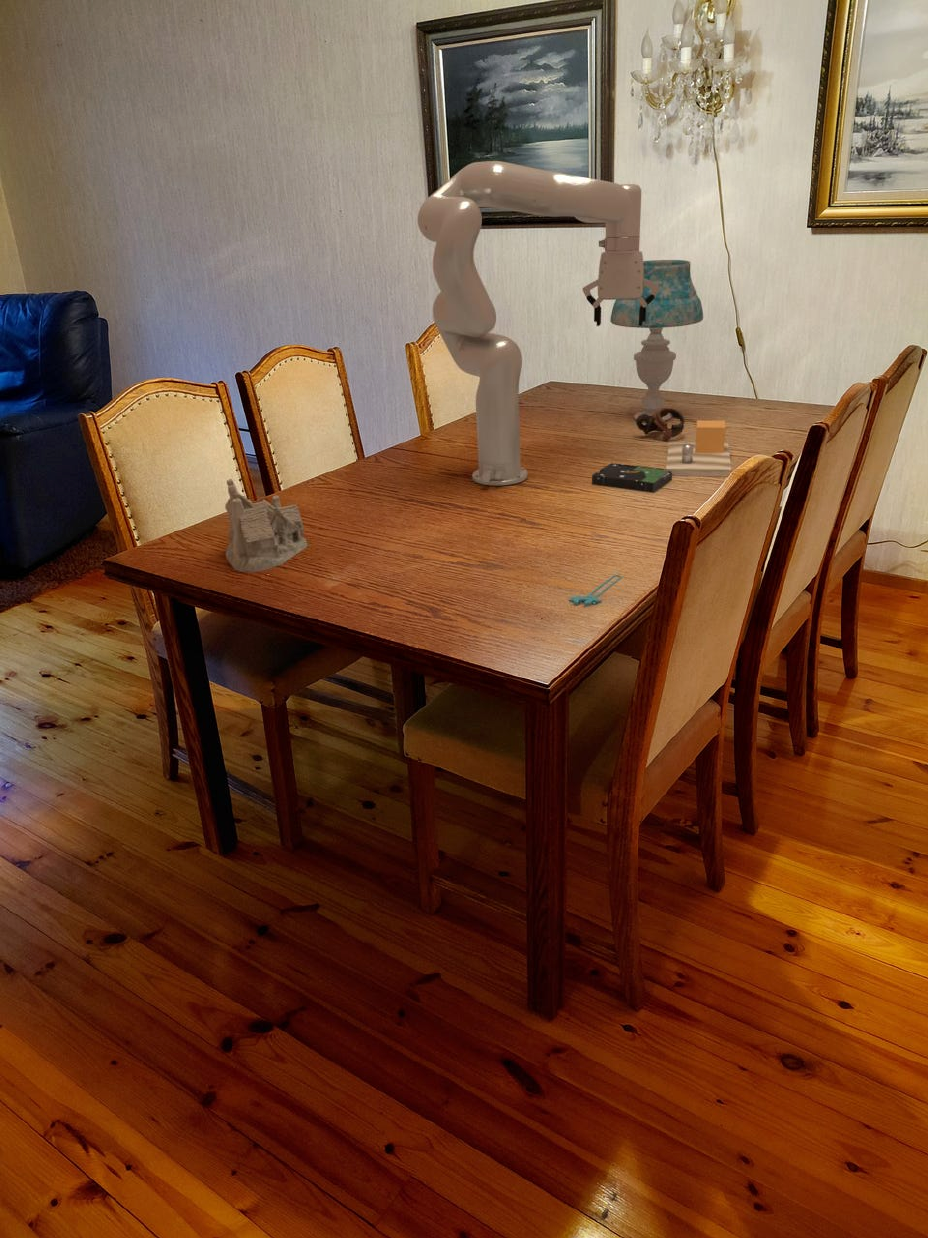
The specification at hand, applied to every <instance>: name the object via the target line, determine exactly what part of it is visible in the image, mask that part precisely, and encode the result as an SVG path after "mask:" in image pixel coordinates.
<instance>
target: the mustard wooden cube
mask: <svg viewBox="0 0 928 1238" xmlns="http://www.w3.org/2000/svg"><path fill="white" fill-rule="evenodd" d="M725 436H726V421H725V420H696V430H695V443H696V444H695V453H724V443H725V438H726V437H725Z"/></svg>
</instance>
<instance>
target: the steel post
mask: <svg viewBox="0 0 928 1238" xmlns="http://www.w3.org/2000/svg"><path fill="white" fill-rule="evenodd" d="M693 446H694V445H693V444H683V447H682V463H684V464H690V463H692V462H693Z"/></svg>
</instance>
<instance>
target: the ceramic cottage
mask: <svg viewBox="0 0 928 1238" xmlns="http://www.w3.org/2000/svg"><path fill="white" fill-rule="evenodd" d="M226 485H227V492H228V494H229V495H228V496H229V499H227V502H226V503H225V508H224V509H225V510H226V511H227V513H228V518H229V521H230V523H229V531H228V538H229V545H227V548H226V549H225V558H226V560H227V561H228V562H229V564H230V566H231V567H232V569H233V570H235V571H237V572H241V573H256V572H262V571H265V570H271V569H273V568H276V567H279V566H282V565H284V564H285V563H286V562H287V561H289V560H290V559H292V558H293V557H295V556H296V555H298V554H299V553H301V551H302V552H303V550H305V549H306V548H307V547H308V541H307V540H306V538H305V537H304V536H303V534H304V524H303V523H304V522H303V521H302V520H303V519H302V517H301V513H300V511H299V508H298V506H297V504H289V505H286V506H282V504H281V500H280V496H278V495H273V496H272V498H271V499H272V504H271V503H269V502H268V501H267V500H266V499H262V501H258V502H253V501H252V499H248V498H247V497H246V496H245V495H242V494H241V493H239V491H238V490H237V486H236V485H235V483H234V481H233V479H232V478H230V479H227V480H226Z"/></svg>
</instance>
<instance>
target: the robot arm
mask: <svg viewBox="0 0 928 1238" xmlns="http://www.w3.org/2000/svg"><path fill="white" fill-rule="evenodd" d="M480 208H496V209H501V210H507V211H514V212H518V213H523V214H524V213H525V214H530V215H535V216H542V217H553V218H555V217H556V218H557V217H574V218H575V219H576V220H578V221H580V222H581V223H582V222H583V223H587V224H588V223H589V224H590V223H591V224H592V223H593V224H596V223H597V224H598V223H600V224H601V223H602V224H605V238H603V239H602V240H598V248H601V247H602V248H603V249H604V252H601V255H600V259H599V266H598V275H597V277H598V278H597V279H595V280H594V281H592V282H591V283H588V284H587V285H585V286H584V287H583V288H582V289H581V290H582V292H583V294H584V297H585V298H586V300H587V302H588V303H589V304H590V305H591V306H592V307H593V309H594V310H593V322H594V323H596V327H599V326H601V324H602V306H601V303H602V302H603V301H605V300H607V301H609V300H610V301H611V300H612V301H616V300H628V299H637V300H638V302H639V303H640V304H641V307H640V308H639V325H640V326H642V324H643V322H645V321H646V307H647V305H648V304H649V303H650V302H651V301H652V300H653V299H654V298H655V296H656V294H657V292H658V291H659V288H660V287H659V286H658V285H656V284H655V283H653V282H651V281H649V280H647V279H645V278H644V266H643V261H644V256H643V251H641V250H640V239H641V237H640V233H641V212H642V211H641V209H642V189H641V186H640V185H638V184H635V183H628V184H627V183H625V184H623V183H622V184H619V183H616V182H611V181H607V180H603V179H597V178H593V177H592V178H591V177H585V176H578V175H574V174H573V175H571V174H568V173H563V172H556V171H551V170H550V171H549V170H545V169H541V168H534V167H530V166H527V165H525V166H524V165H521V164H516V163H511V162H508V161H507V162H506V161H500V160H489V161H488V160H486V161H475V162H472V163H469V164H467V165H466V166H464V167H463V168H462V169H460V170H459V171H458V172H457V173H456V174H454V175H453V176H452V177H450V178H449V179H448V180H447V181H446V182H445V183H444V184H442V185H441V186H440V187H438V189H436V190H435V191H434V192H433V193H432V194H431V195H430V196H429V197H428V198H427V199H425V201H423V203H422V204H421V205H420V208H419V210H418V214H417V227H418V229H419V230H420V233H421V234H422V235H423V237H424V238H426V239H427V240H429V241H431V242H433V243H435V247H434V252H433V255H432V256H433V257H432V270H433V275H434V279H435V282H436V284H437V286H438V288H439V291H440V292H439V293H438V294H437V296H436V297H435V300H434V302H433V305H432V306H433V307H432V315H433V317H432V318H433V320H434V323H435V327H436V329H437V330H438V333H439V334H440V336H441V339H442V340H443V342H444V344H445V346H446V348H447V350H448V352H449V353H450V355H451V358H452V360H453V361H454V363H455V364H456V365H457V367H458V368H459V369H460V370H461V371H462V372H464V373H466V374H468V375H471V376H476V377H479V382H478V385H477V389H476V392H475V393H476V394H475V415H476V416H475V417H476V435H477V436H476V439H477V440H476V441H477V460H478V469H476V470H475V471H473V472H472V475H471V479H472V481H473V482H475V483H477V484H481V485H484V486H491V487H492V486H494V487H495V486H498V487H499V486H509V485H515V484H518V483H521V482H523V481H526V479H527V478H528V470H527V469H525V468H524V467H521V439H520V437H521V435H520V432H521V431H520V402H519V401H520V399H519V398H520V396H519V395H520V394H519V393H520V387H519V386H520V379H521V375H522V374H521V373H522V366H523V356H522V351H521V348H520V347H519V345H518V344H517V343H516V342H515V341H514V340H513V339H512V338H509V337H507V336H506V335H502V334H497V333H491V331H493V330H494V328H495V325H496V323H497V314H496V313H497V312H496V309H495V307H494V304H493V301H492V299H491V297H490V295H489V293H488V291H487V288H486V287H485V285H484V282H483V281H482V278H481V276H480V275H479V272H478V269H477V267H476V263H475V259H474V257H475V255H474V254H475V252H474V251H475V247H476V243H477V240H478V237H479V235H480V231H481V229H482V223H483V221H482V220H483V216H482V212H481V209H480ZM644 285H645V286H647V287H649V288H650V289H652V292H651V294H650V295H649V296H648V297H647V298H646V299H645V298H644V297H643V295H642V294H643V289H644ZM596 287H597V297H598V298H595V297H594V296H593V294H592V292H591V290H593V289H594V288H596Z"/></svg>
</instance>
